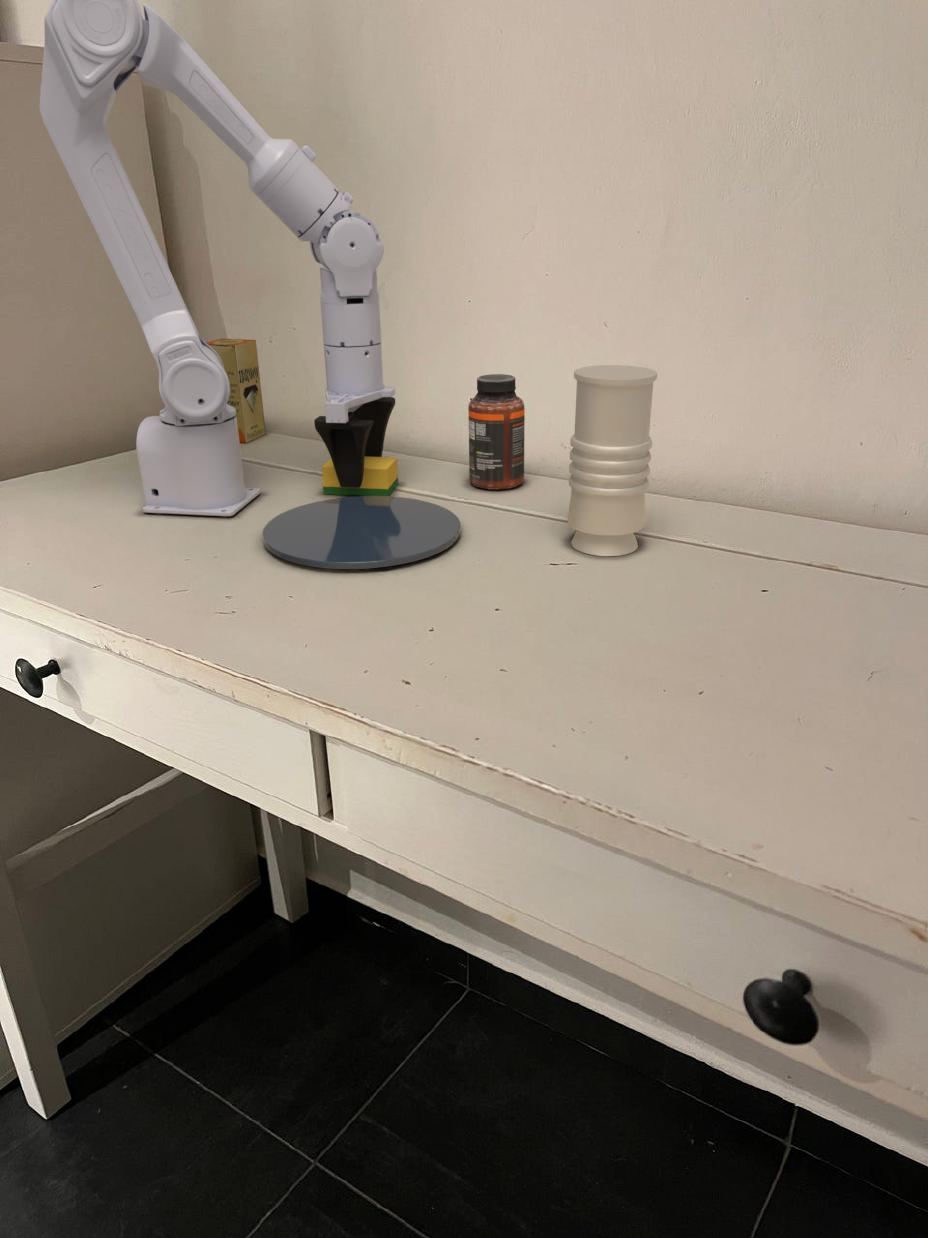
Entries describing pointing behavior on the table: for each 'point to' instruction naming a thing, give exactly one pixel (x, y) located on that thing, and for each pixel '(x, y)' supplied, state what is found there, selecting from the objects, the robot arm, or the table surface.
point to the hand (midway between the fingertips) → (360, 475)
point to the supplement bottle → (496, 434)
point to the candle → (610, 457)
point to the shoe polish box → (243, 385)
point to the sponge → (365, 478)
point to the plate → (361, 532)
